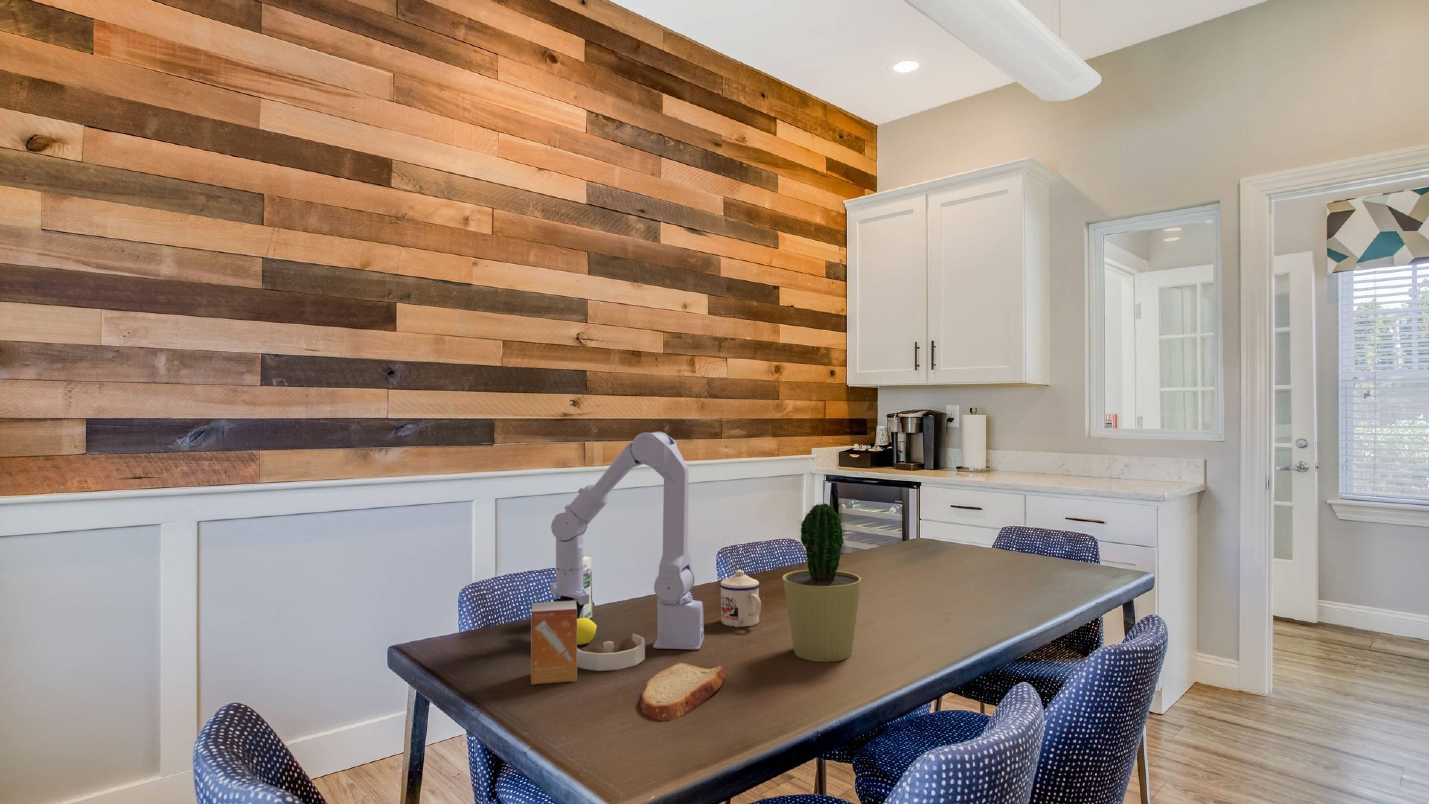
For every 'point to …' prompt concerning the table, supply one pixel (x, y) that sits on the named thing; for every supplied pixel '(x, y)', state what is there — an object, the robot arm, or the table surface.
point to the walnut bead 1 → (596, 649)
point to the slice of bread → (680, 690)
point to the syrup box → (587, 587)
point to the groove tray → (612, 656)
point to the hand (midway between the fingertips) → (570, 631)
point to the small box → (554, 642)
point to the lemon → (585, 630)
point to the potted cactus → (822, 592)
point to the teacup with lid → (740, 600)
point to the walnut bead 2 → (626, 644)
